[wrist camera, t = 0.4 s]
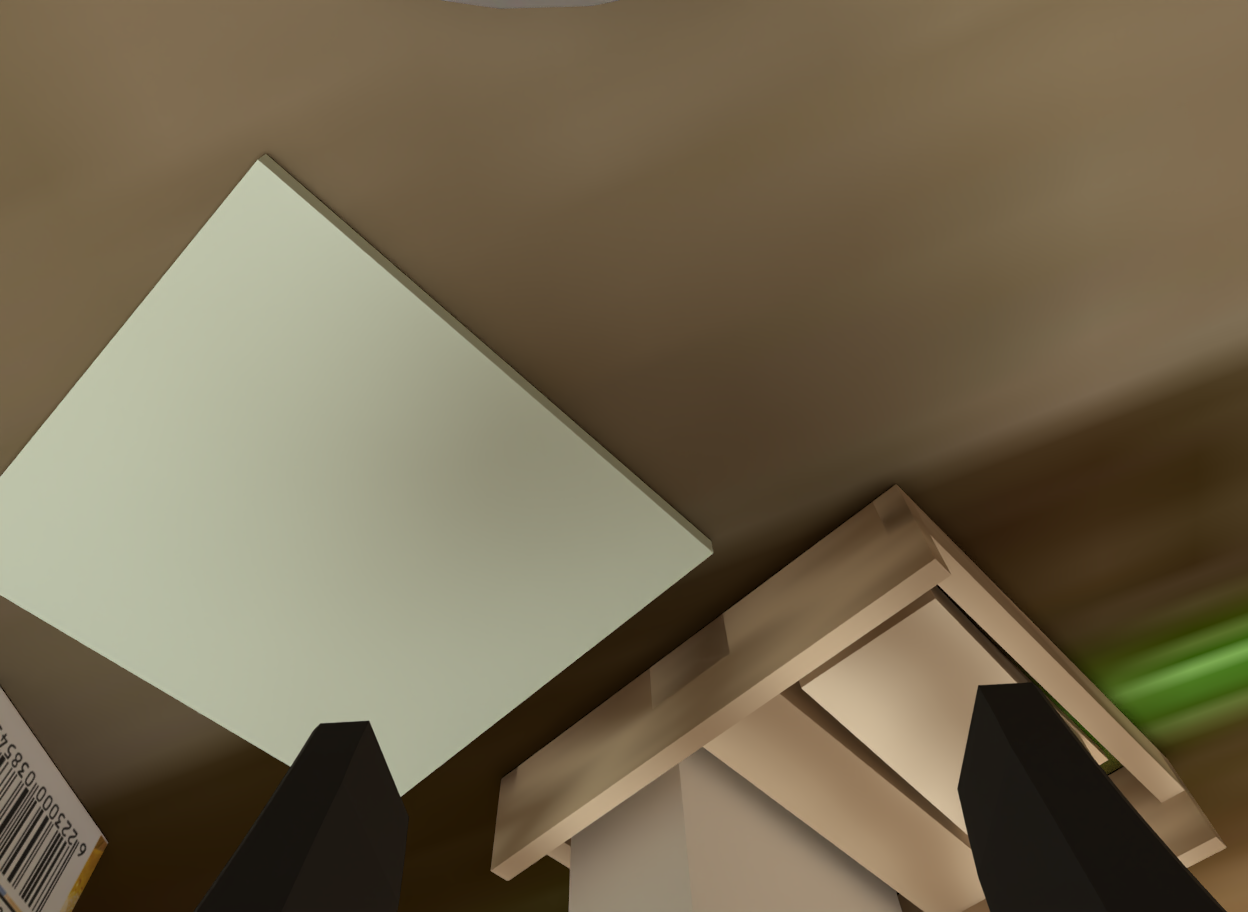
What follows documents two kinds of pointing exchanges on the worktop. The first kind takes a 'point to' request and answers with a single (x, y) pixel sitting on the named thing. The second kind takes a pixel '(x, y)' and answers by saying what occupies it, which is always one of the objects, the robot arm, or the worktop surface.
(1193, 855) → the rack
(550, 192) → the worktop surface
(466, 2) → the food container
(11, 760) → the beverage box
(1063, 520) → the worktop surface
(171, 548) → the board
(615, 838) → the beige rectangular block
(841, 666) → the offcut upper
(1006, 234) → the worktop surface
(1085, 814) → the robot arm
